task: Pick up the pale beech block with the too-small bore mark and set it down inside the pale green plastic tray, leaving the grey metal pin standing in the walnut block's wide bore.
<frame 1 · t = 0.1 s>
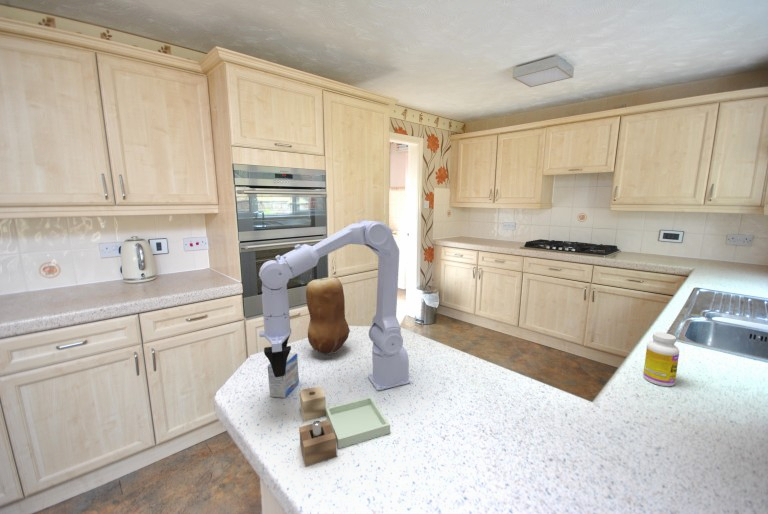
hand: (280, 367, 78), 10 cm above the countertop, tool pointing down, fingers open, 7 cm apart
supplement bottle: (658, 381, 89), on the countertop
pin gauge: (317, 437, 65), in the gauge block
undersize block: (313, 413, 77), on the countertop
butternut squash: (329, 352, 109), on the countertop
gauge block: (318, 450, 65), on the countertop
tray: (356, 424, 73), on the countertop
medicine box: (285, 390, 87), on the countertop
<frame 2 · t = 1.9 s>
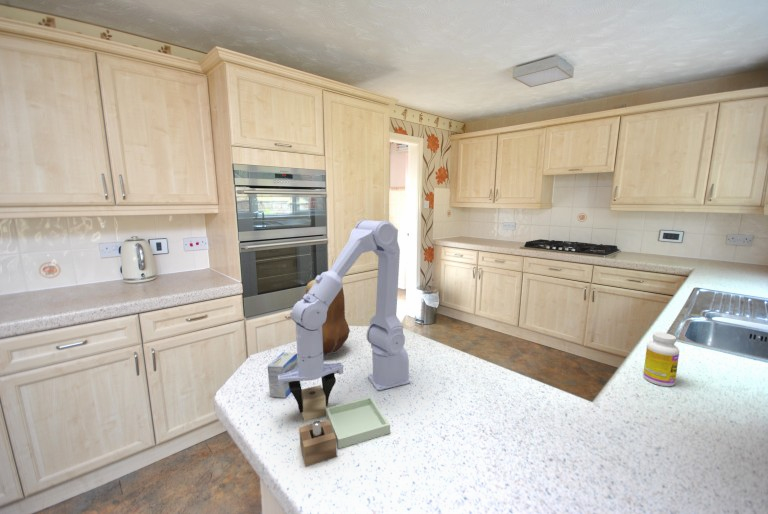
hand: (313, 407, 77), 1 cm above the countertop, tool pointing down, fingers closed on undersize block, 5 cm apart
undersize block: (313, 412, 77), on the countertop, touching gripper, tray
everything else where it was.
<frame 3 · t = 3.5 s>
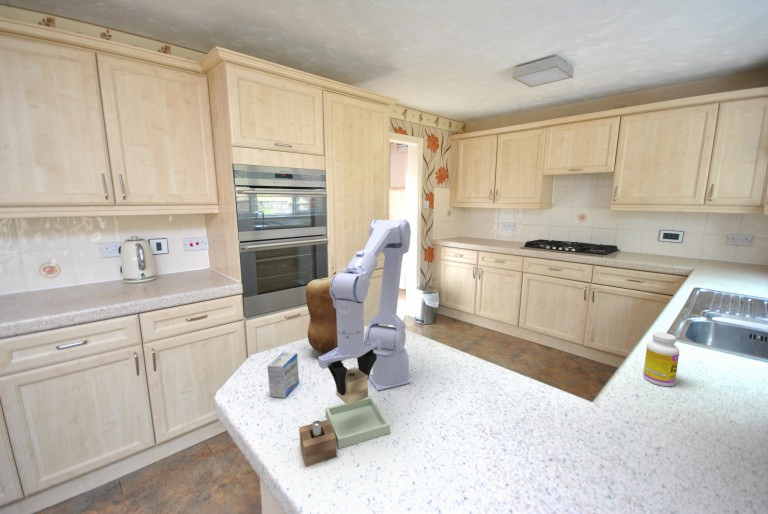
hand: (352, 388, 72), 8 cm above the countertop, tool pointing down, fingers closed on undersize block, 5 cm apart
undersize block: (352, 396, 73), point 7 cm above the countertop, touching gripper
everything else where it was.
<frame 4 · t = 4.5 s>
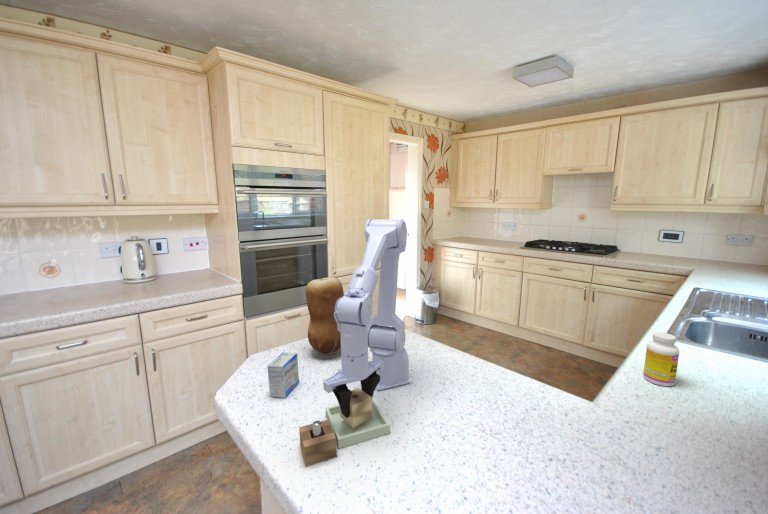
hand: (356, 409, 73), 3 cm above the countertop, tool pointing down, fingers closed on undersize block, 5 cm apart
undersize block: (355, 417, 73), point 2 cm above the countertop, touching gripper
everything else where it was.
when the fingers open (3 cm above the countertop, at t = 5.1 s): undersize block stays where it is, resting on tray.
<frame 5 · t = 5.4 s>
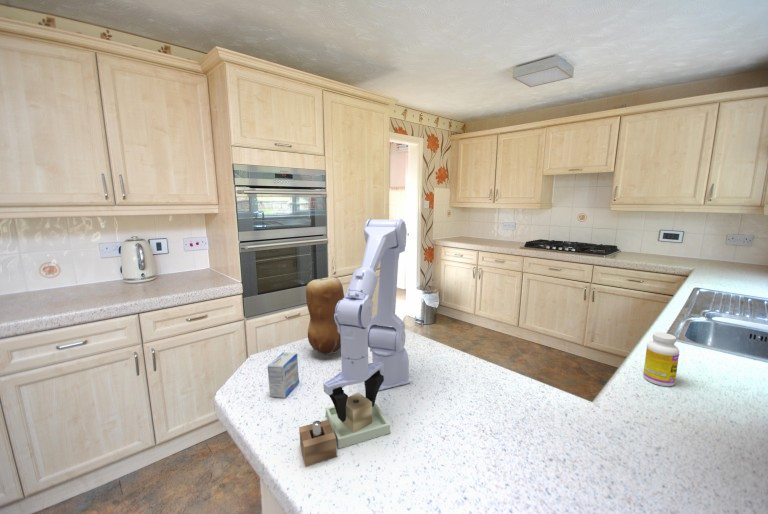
hand: (356, 411, 73), 3 cm above the countertop, tool pointing down, fingers open, 7 cm apart
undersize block: (356, 422, 73), resting on tray
everything else where it was.
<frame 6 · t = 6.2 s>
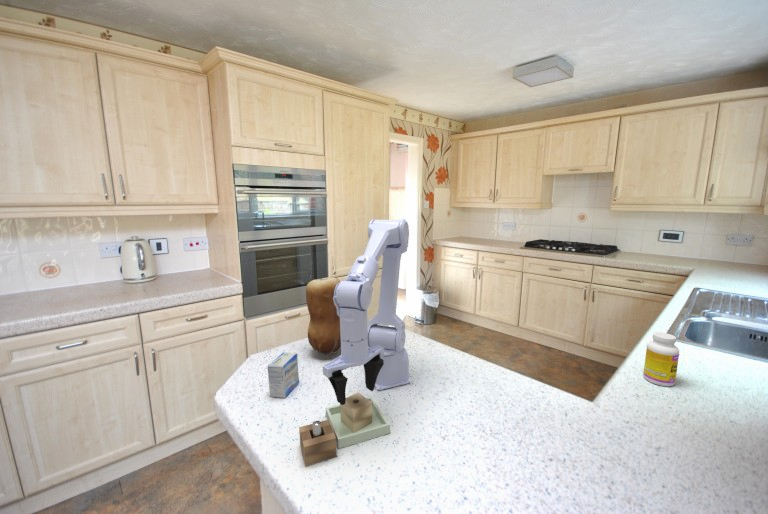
hand: (356, 395, 72), 7 cm above the countertop, tool pointing down, fingers open, 7 cm apart
nothing on the countertop moved.
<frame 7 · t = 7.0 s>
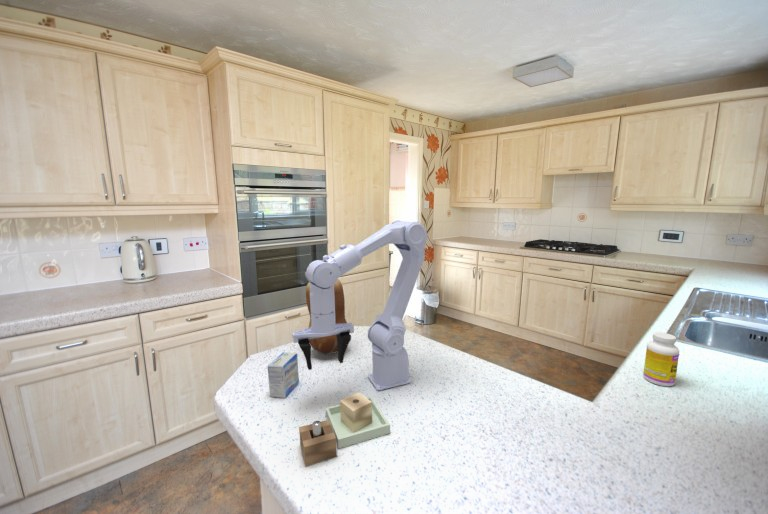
hand: (325, 364, 81), 9 cm above the countertop, tool pointing down, fingers open, 7 cm apart
nothing on the countertop moved.
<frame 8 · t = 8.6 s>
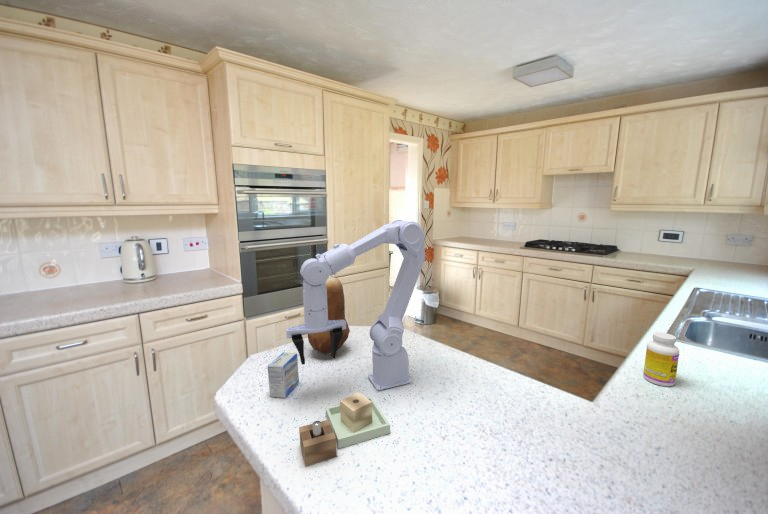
hand: (318, 359, 83), 9 cm above the countertop, tool pointing down, fingers open, 7 cm apart
nothing on the countertop moved.
at the end: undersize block inside the target area on the tray (0.2 cm from its centre), point 0.4 cm above the tray's base; the gripper is holding nothing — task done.
